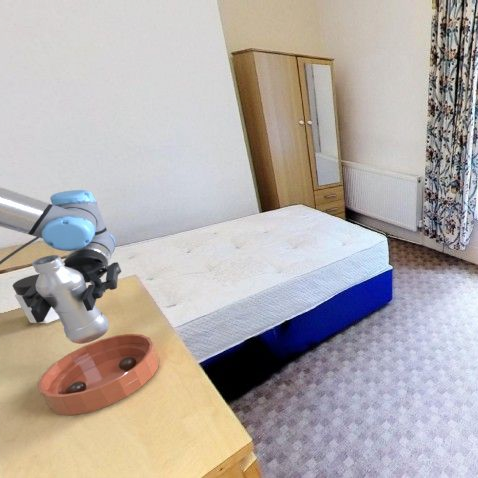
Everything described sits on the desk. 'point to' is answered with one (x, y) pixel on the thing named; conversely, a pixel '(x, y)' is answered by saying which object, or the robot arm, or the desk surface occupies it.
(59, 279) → the plastic bottle
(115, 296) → the desk surface
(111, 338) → the bowl
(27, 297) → the robot arm
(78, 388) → the bead
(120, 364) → the bead
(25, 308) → the jar
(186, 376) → the desk surface
